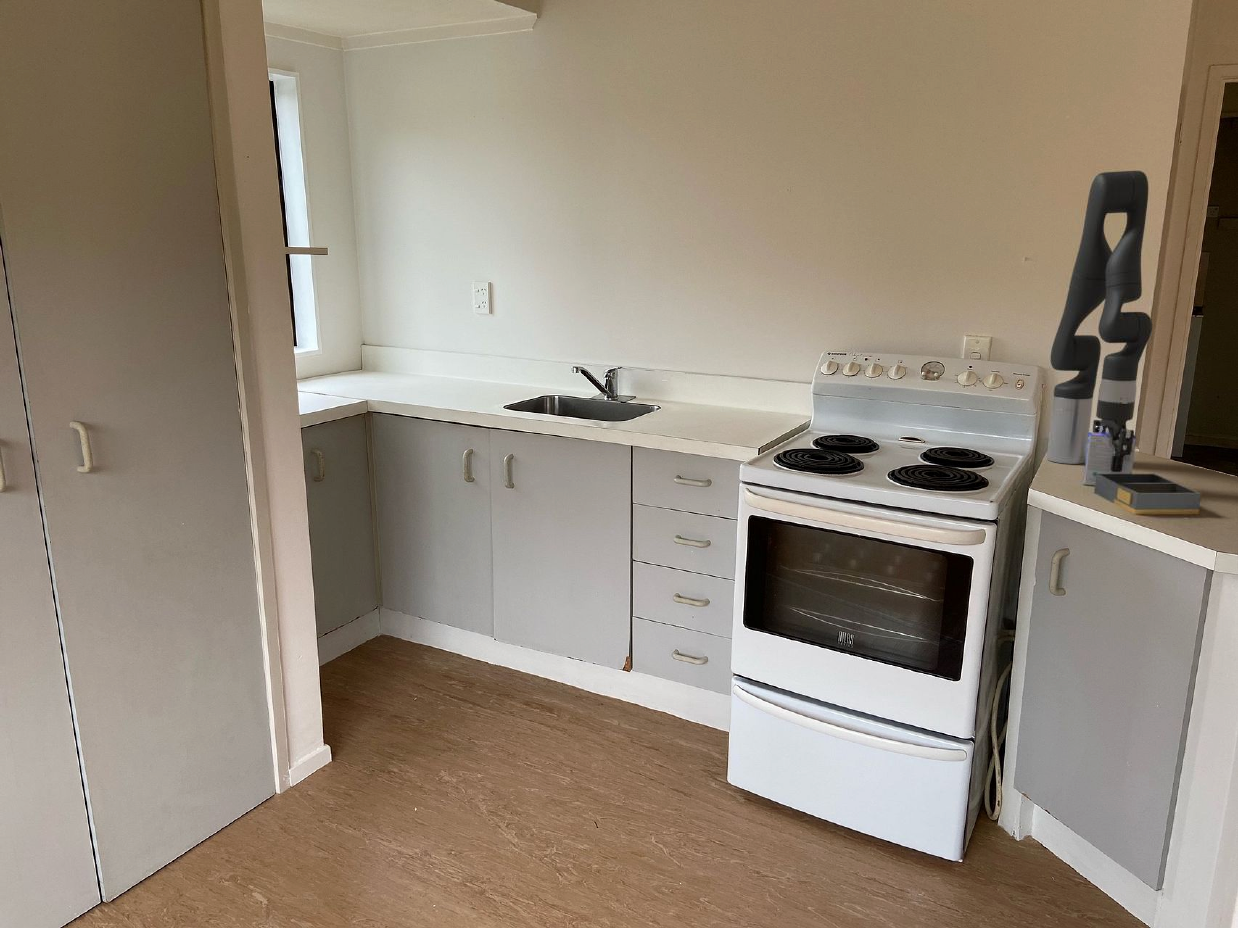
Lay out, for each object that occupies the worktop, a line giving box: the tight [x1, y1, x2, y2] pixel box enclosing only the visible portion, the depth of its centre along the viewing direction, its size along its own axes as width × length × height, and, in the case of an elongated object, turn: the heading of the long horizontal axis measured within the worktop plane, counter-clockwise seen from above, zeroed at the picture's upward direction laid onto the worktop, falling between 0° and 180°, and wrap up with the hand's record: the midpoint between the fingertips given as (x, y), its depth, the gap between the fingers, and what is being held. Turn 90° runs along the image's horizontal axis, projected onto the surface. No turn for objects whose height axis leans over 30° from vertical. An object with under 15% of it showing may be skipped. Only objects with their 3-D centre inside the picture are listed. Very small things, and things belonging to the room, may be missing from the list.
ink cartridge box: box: [1082, 431, 1137, 486], centre depth 200 cm, size 10×6×14 cm, turn 65°
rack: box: [1093, 473, 1202, 515], centre depth 185 cm, size 17×13×4 cm
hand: (1108, 467), depth 200 cm, fingers closed on ink cartridge box, 6 cm apart
